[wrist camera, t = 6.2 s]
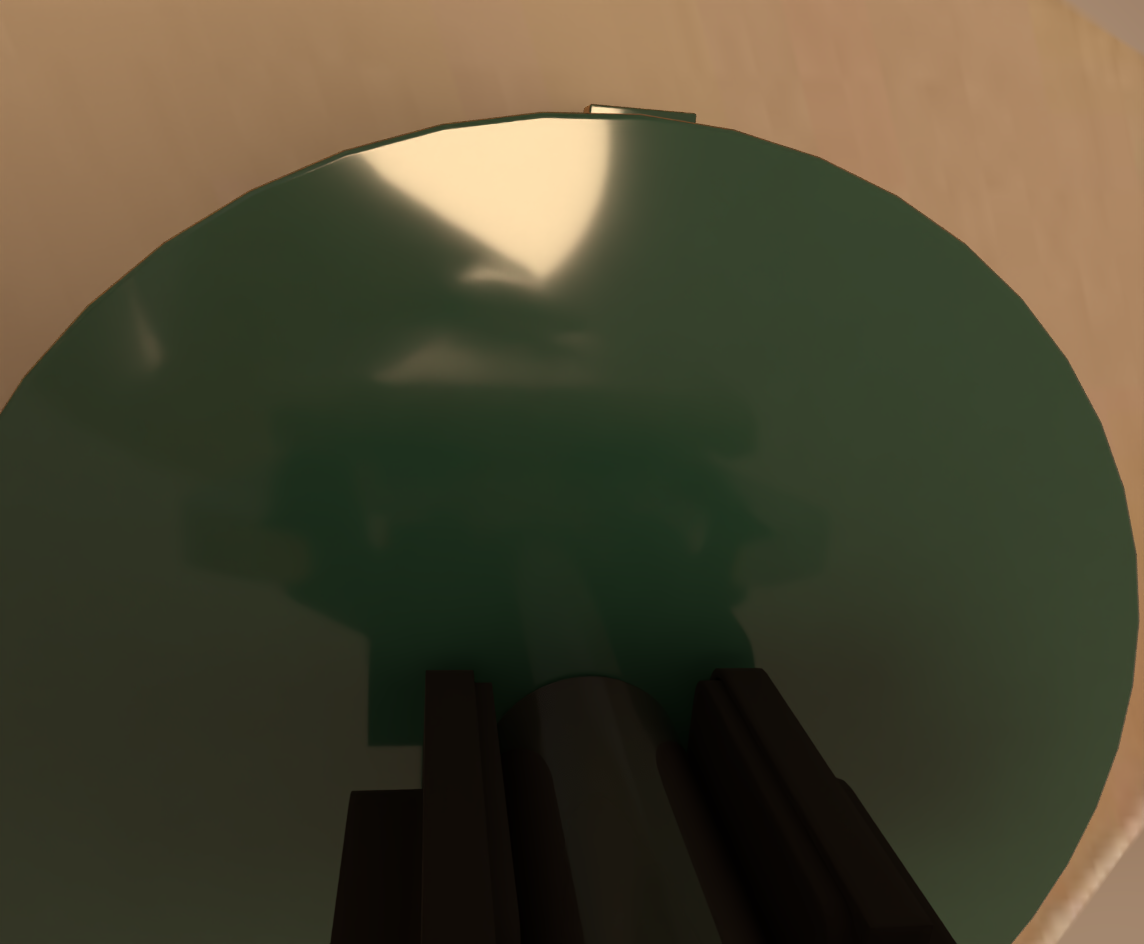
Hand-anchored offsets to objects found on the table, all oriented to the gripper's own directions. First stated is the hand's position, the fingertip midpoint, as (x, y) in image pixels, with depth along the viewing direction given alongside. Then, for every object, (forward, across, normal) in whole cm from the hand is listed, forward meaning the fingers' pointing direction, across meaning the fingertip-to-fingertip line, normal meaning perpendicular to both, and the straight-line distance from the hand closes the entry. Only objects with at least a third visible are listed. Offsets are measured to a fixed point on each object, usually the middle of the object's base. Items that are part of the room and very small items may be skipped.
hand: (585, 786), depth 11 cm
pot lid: (+1, 0, 0) cm, 1 cm away
